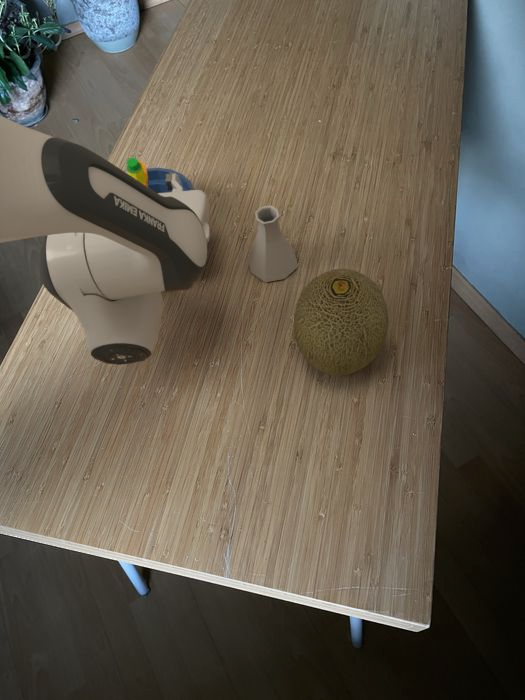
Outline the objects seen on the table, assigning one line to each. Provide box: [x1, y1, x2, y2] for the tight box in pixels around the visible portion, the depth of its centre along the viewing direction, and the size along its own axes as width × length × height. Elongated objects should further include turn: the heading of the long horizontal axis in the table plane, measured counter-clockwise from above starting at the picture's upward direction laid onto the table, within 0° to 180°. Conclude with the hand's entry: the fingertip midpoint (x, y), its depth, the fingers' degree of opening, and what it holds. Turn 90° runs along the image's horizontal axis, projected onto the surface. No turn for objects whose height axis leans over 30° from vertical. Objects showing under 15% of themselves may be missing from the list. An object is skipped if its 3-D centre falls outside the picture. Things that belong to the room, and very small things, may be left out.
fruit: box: [293, 268, 390, 377], centre depth 70 cm, size 11×11×15 cm
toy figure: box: [126, 157, 148, 187], centre depth 86 cm, size 7×4×12 cm, turn 10°
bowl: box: [146, 167, 195, 193], centre depth 90 cm, size 14×14×4 cm
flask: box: [247, 204, 299, 283], centre depth 81 cm, size 7×7×10 cm
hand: (139, 179), depth 85 cm, fingers open, 8 cm apart
